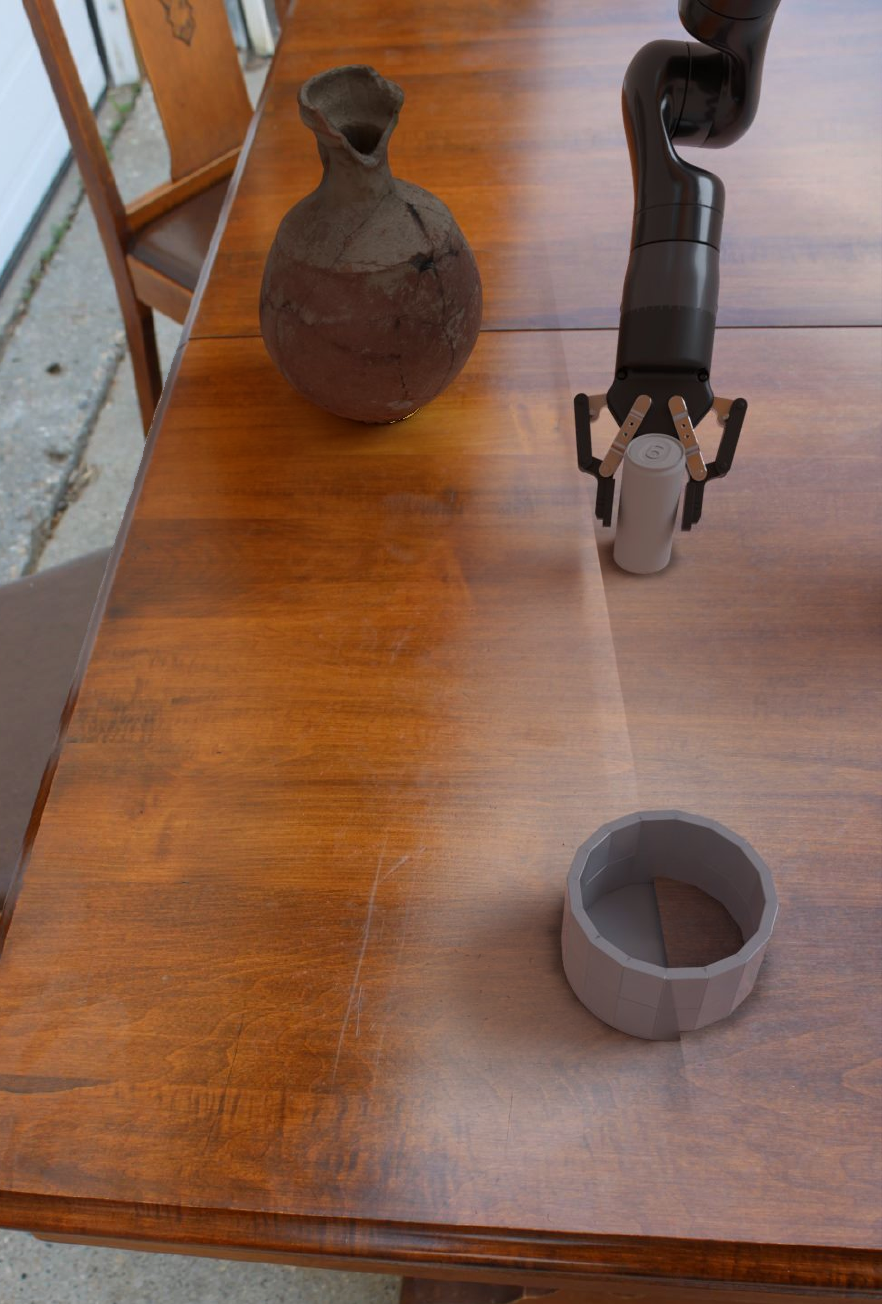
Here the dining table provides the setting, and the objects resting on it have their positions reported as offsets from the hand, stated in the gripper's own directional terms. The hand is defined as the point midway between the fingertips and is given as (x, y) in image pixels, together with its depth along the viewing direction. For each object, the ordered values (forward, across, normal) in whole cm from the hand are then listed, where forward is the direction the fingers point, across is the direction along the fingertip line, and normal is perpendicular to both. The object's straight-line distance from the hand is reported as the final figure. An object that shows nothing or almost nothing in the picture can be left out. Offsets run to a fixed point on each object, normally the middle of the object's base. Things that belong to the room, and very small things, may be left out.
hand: (646, 527), depth 99 cm
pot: (+31, +3, -22) cm, 38 cm away
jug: (-14, -28, +22) cm, 38 cm away
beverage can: (+3, 0, +5) cm, 6 cm away
